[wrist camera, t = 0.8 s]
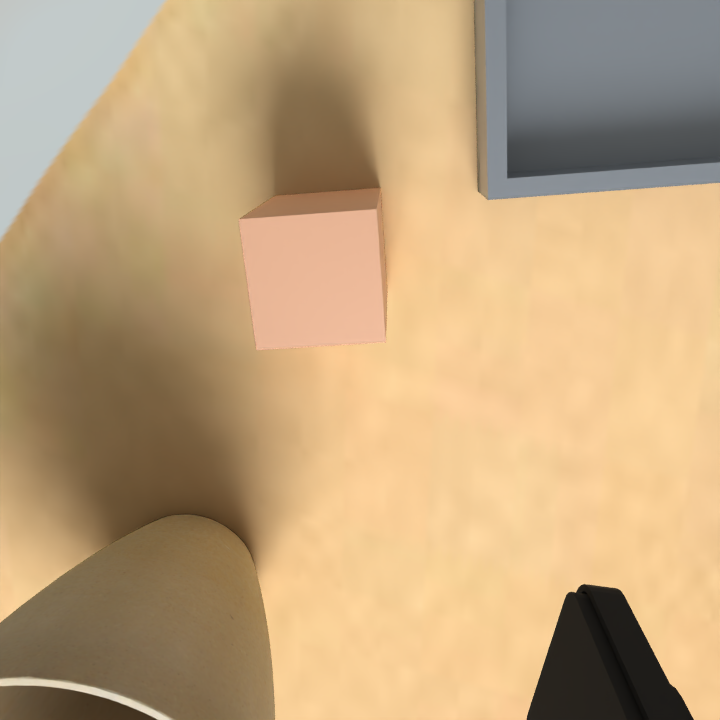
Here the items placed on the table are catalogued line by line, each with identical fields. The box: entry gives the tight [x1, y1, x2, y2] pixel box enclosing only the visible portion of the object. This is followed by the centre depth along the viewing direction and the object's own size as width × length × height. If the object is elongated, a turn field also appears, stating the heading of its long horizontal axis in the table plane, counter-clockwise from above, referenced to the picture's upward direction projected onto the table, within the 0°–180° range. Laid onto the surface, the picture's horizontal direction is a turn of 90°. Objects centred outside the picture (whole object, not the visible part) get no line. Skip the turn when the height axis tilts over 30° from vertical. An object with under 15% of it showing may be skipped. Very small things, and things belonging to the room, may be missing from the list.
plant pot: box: [0, 514, 275, 720], centre depth 32 cm, size 15×15×16 cm
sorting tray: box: [474, 0, 720, 200], centre depth 27 cm, size 16×14×4 cm
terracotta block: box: [239, 188, 387, 350], centre depth 29 cm, size 5×5×8 cm
